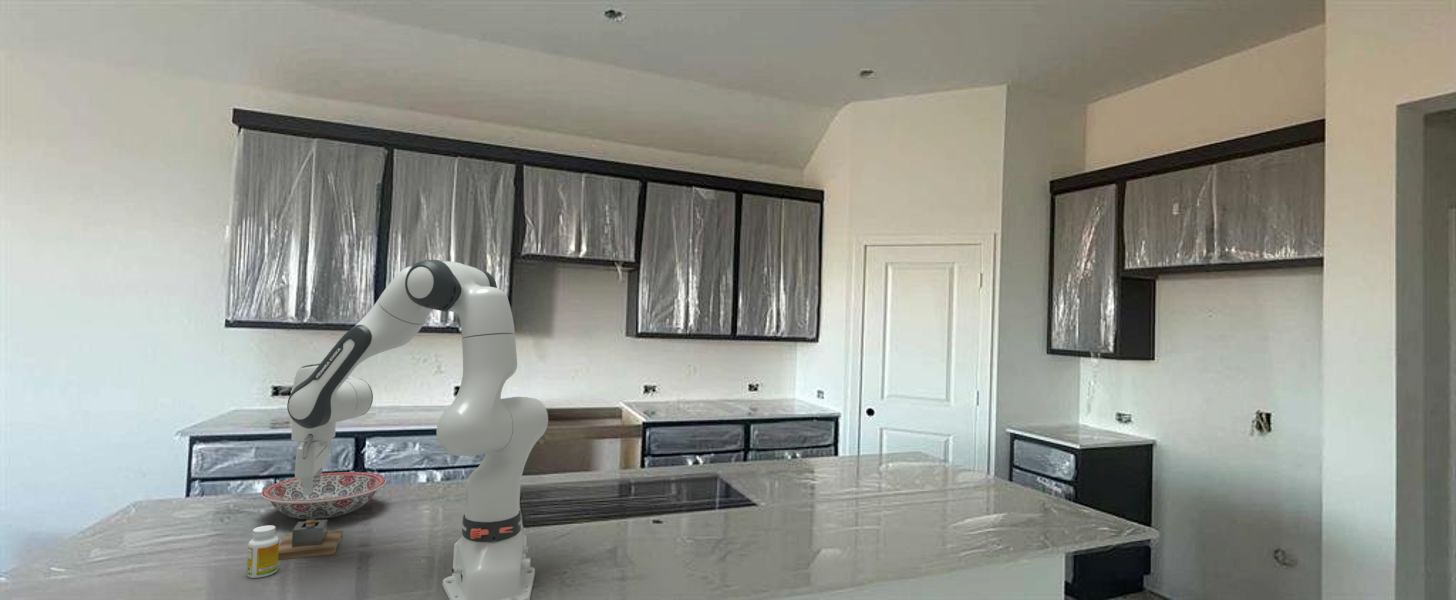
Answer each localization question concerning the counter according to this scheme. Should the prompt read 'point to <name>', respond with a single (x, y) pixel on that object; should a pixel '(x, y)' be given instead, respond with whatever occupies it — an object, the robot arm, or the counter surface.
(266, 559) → the supplement bottle
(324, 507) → the ceramic bowl
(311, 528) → the grey square block
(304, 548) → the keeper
